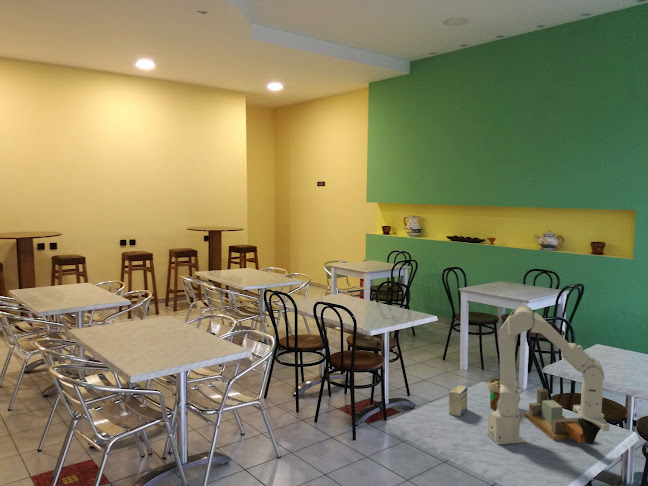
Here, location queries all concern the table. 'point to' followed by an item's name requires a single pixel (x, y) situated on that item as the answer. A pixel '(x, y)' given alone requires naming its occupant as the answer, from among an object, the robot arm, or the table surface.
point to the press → (538, 421)
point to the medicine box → (458, 400)
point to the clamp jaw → (568, 428)
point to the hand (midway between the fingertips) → (589, 443)
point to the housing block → (551, 410)
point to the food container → (494, 392)
